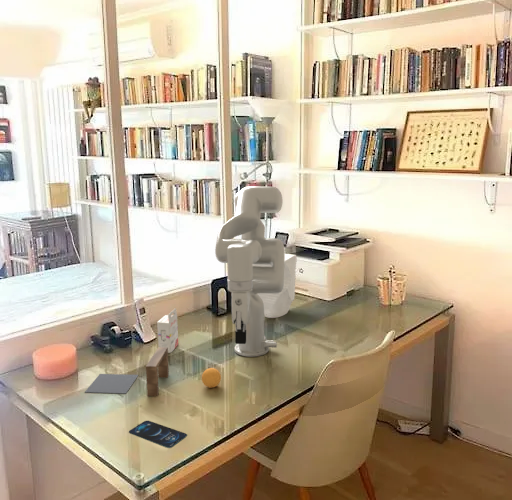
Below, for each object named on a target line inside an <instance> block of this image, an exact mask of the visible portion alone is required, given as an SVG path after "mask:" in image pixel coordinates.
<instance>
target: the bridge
mask: <svg viewBox="0 0 512 500" xmlns="http://www.w3.org/2000/svg"><path fill="white" fill-rule="evenodd" d="M169 370H170V369H169V353H168V347H159V346H158V347H157V349H156V350H155V352H154V353H153V355H152V356H151V358H150V359H149V361H148V362H147V364H146V365H145V371H146V372H145V376H146V393H147V395H146V396H147V397H158V395H159V393H160V391H159V390H160V388H159V387H160V386H159V378H167V379H168V377H169V375H170V373H169V372H170V371H169Z"/></svg>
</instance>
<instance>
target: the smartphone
mask: <svg viewBox="0 0 512 500" xmlns="http://www.w3.org/2000/svg"><path fill="white" fill-rule="evenodd" d="M128 434H131V435H133V436H136V437H138V438H140V439H144V440H145V441H148V442H151V443H153V444H157V445H159V446H161V447H164V448H167V449H172V448H173V447H174V446H176V445H177V444H179V443H180V442H182V440H184V439H185V438H186V437H187V436H188V434H187V433H186V432H183V431H180V430H178V429H177V430H176V429H175V428H172V427H169V426H165V425H162V424H159V423H157V422H153V421H151V420H144V421H142V422H141V423H139V424H137V425H136V426H134V427H133V428H132V429H129V431H128Z"/></svg>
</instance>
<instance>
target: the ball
mask: <svg viewBox="0 0 512 500" xmlns="http://www.w3.org/2000/svg"><path fill="white" fill-rule="evenodd" d="M221 379H222V375H221V373H220V371H219V370H218V369H217V368H214V367H210V368H209V367H208V368H207V369H205V370H204V371H203V373H202V374H201V381H202V384H203V385H204V386H205V387H206V388H210V389H212V388H216V387H218V385H219V384H220V383H221Z"/></svg>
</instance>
